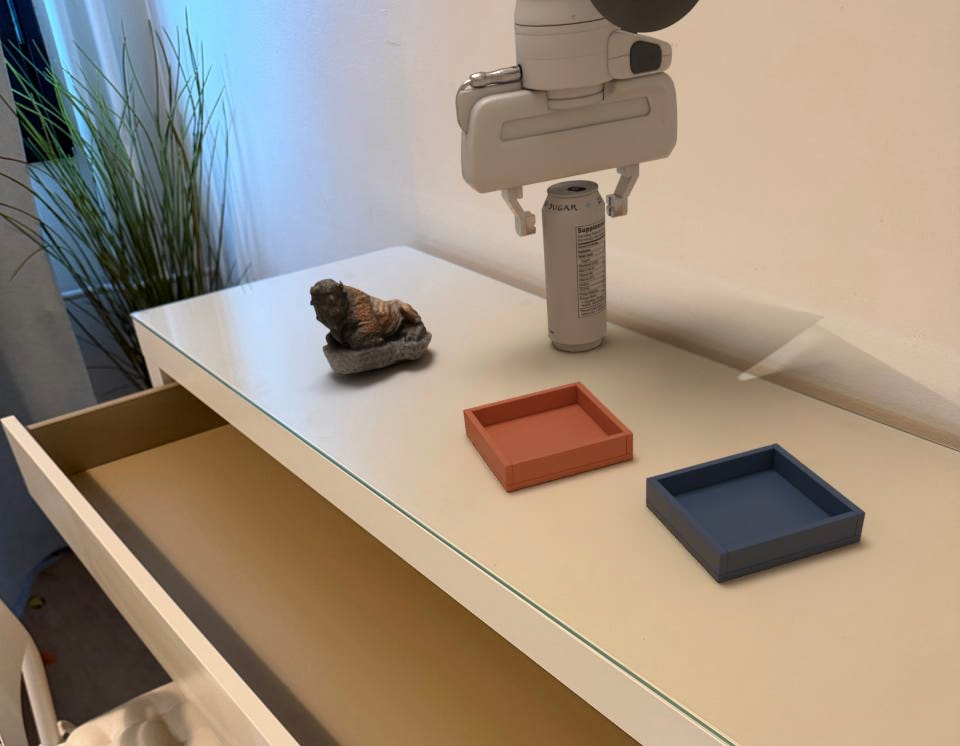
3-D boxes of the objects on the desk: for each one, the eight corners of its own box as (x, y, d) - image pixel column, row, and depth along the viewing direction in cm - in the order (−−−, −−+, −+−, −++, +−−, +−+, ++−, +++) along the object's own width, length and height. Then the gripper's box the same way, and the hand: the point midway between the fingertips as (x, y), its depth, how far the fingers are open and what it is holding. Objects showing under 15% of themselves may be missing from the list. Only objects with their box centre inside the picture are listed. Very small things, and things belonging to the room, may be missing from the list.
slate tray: (773, 469, 74) (776, 442, 72) (860, 541, 66) (866, 512, 64) (645, 504, 72) (645, 477, 70) (718, 583, 64) (720, 554, 62)
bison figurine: (415, 340, 101) (401, 245, 95) (448, 360, 97) (435, 261, 90) (316, 374, 97) (294, 277, 91) (344, 396, 92) (323, 295, 86)
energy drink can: (574, 325, 100) (568, 175, 90) (618, 337, 97) (617, 182, 87) (537, 345, 97) (527, 192, 87) (581, 358, 94) (576, 200, 84)
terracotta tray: (580, 405, 86) (579, 380, 84) (633, 459, 77) (633, 433, 76) (465, 434, 84) (462, 409, 82) (507, 492, 76) (504, 466, 74)
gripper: (464, 81, 76) (479, 255, 85) (689, 43, 80) (682, 213, 89) (442, 71, 81) (459, 236, 90) (656, 35, 85) (652, 197, 93)
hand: (571, 224), depth 89 cm, fingers open, 8 cm apart
